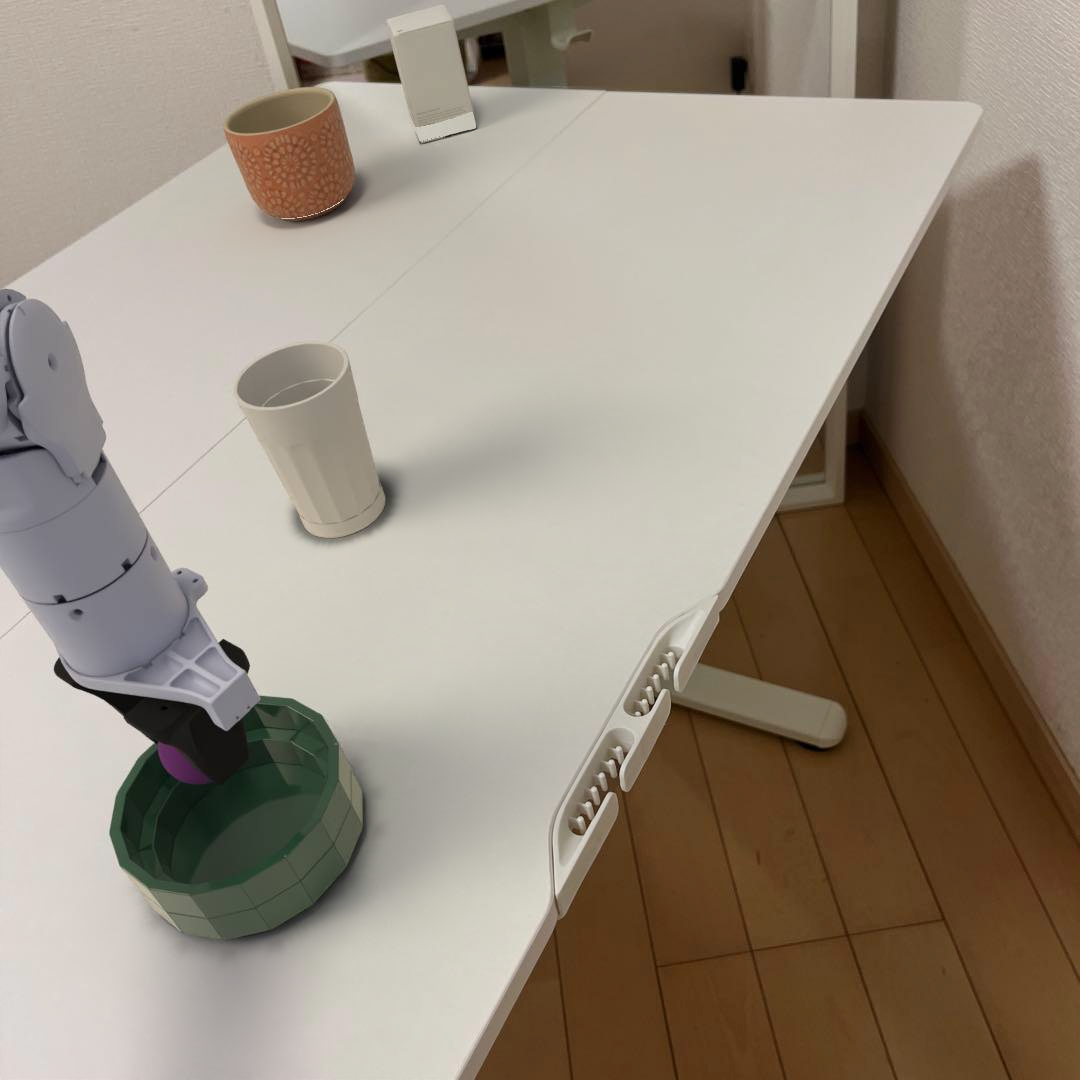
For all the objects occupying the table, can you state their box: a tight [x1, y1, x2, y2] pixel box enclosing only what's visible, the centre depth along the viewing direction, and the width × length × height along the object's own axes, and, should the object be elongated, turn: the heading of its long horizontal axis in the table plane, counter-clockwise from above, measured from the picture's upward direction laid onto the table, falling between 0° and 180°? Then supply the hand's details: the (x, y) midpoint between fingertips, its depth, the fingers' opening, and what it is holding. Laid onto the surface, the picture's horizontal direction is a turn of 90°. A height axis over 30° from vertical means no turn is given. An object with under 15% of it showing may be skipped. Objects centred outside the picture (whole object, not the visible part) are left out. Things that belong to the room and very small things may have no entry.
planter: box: [222, 86, 356, 222], centre depth 120 cm, size 12×12×11 cm
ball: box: [158, 742, 213, 784], centre depth 55 cm, size 4×4×4 cm
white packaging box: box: [385, 3, 474, 144], centre depth 130 cm, size 7×7×13 cm
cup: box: [232, 340, 386, 539], centre depth 78 cm, size 8×8×12 cm
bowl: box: [108, 694, 364, 941], centre depth 59 cm, size 12×12×5 cm
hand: (204, 751), depth 56 cm, fingers closed on ball, 4 cm apart
